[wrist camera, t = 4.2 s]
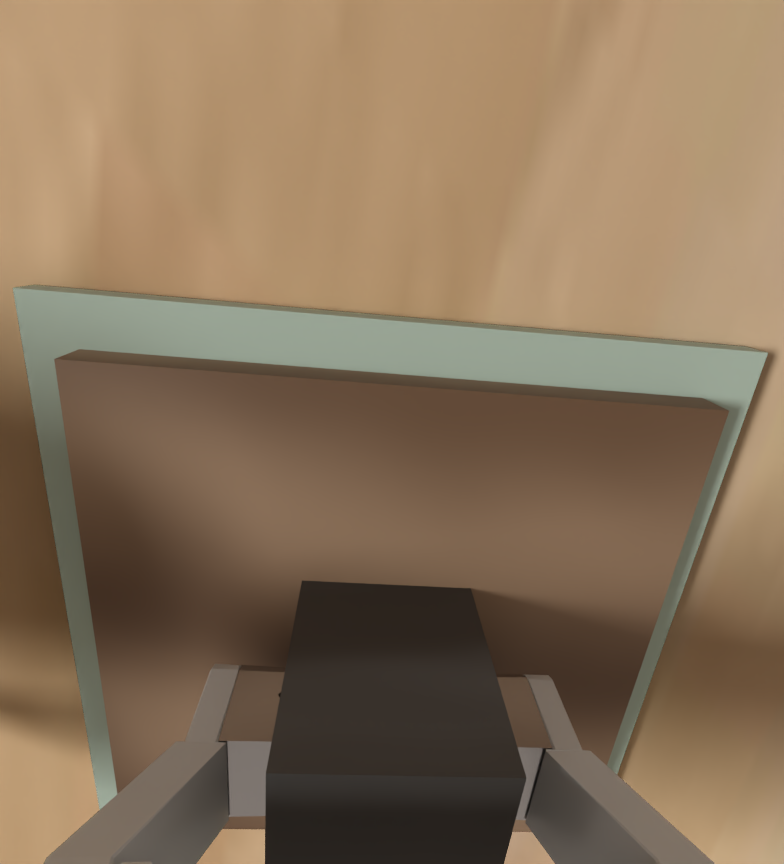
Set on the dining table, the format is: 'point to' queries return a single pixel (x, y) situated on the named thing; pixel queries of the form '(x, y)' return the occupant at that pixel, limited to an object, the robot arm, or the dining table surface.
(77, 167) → the dining table surface
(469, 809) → the walnut lid
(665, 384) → the green mat
